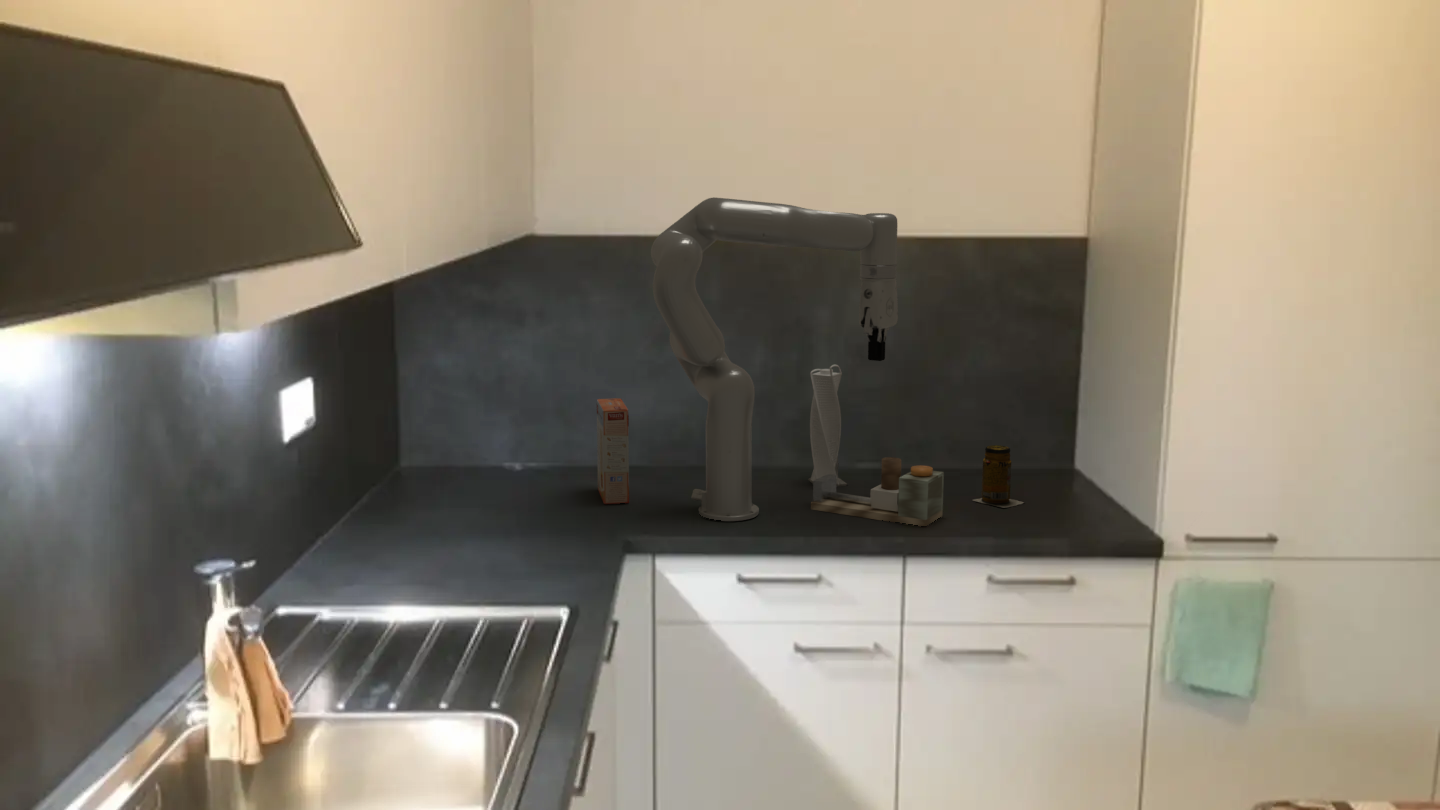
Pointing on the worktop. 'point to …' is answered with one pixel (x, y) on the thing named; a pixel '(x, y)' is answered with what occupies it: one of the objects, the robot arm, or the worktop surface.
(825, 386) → the skyscraper
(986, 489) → the condiment
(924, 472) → the button
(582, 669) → the worktop surface
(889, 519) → the rail base
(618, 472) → the cracker box
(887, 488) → the carriage
